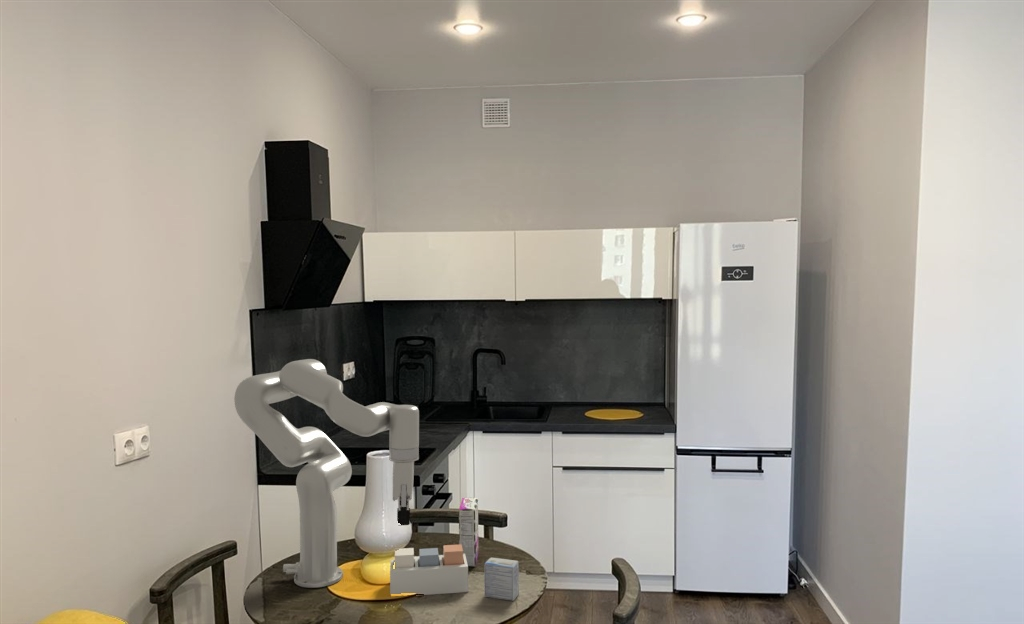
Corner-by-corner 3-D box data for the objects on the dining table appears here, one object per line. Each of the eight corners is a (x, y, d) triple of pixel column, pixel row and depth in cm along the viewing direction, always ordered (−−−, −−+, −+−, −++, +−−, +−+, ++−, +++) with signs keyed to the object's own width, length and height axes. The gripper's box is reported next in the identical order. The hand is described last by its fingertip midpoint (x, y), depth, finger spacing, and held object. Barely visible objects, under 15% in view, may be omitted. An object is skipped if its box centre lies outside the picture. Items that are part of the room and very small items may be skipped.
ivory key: (394, 580, 168) (394, 555, 168) (395, 572, 173) (395, 548, 173) (413, 578, 169) (413, 554, 169) (413, 571, 174) (413, 547, 174)
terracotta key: (444, 576, 170) (444, 552, 170) (443, 568, 175) (443, 545, 175) (463, 574, 171) (463, 550, 171) (461, 567, 176) (461, 544, 176)
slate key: (419, 580, 169) (419, 555, 169) (419, 572, 174) (419, 549, 174) (438, 578, 170) (438, 554, 170) (437, 571, 175) (437, 547, 175)
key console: (390, 597, 166) (390, 571, 166) (391, 582, 175) (390, 557, 175) (468, 591, 169) (468, 566, 169) (465, 577, 178) (464, 553, 178)
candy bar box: (462, 552, 196) (462, 497, 196) (478, 552, 196) (478, 497, 196) (458, 567, 185) (458, 508, 185) (476, 567, 185) (476, 508, 185)
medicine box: (519, 594, 168) (519, 560, 168) (513, 601, 164) (513, 567, 164) (490, 590, 170) (490, 556, 170) (483, 597, 166) (483, 563, 166)
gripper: (390, 447, 178) (389, 515, 178) (388, 460, 163) (388, 535, 163) (418, 446, 179) (417, 514, 179) (419, 459, 164) (418, 533, 164)
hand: (403, 524), depth 171 cm, fingers closed
